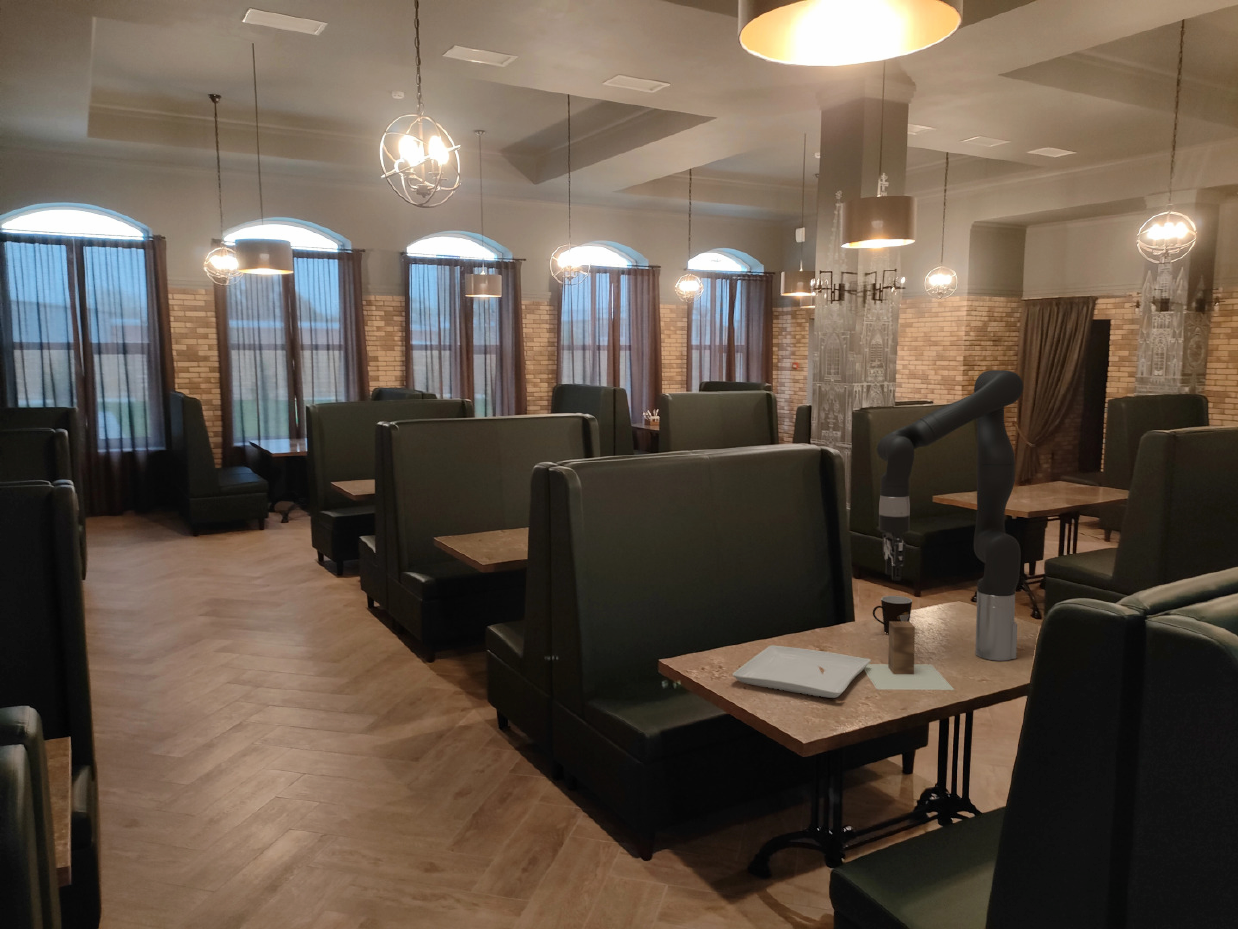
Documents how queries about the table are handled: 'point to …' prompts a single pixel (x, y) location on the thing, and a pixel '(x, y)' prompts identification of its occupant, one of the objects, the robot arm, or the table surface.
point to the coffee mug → (894, 610)
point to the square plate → (801, 670)
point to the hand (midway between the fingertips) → (893, 577)
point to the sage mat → (907, 678)
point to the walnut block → (901, 647)
